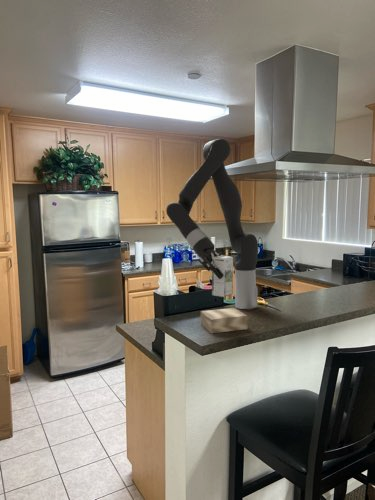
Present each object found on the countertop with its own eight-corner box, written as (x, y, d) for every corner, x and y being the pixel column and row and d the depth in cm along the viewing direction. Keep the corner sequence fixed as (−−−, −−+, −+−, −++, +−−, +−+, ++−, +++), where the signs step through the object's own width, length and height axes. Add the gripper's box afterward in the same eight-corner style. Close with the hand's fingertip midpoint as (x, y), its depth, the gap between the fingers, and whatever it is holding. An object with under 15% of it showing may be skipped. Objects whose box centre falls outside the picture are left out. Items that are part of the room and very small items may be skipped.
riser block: (234, 320, 144) (234, 307, 144) (247, 328, 133) (247, 315, 132) (200, 323, 140) (200, 311, 140) (211, 333, 129) (211, 319, 128)
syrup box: (220, 292, 139) (220, 255, 138) (233, 294, 136) (233, 256, 134) (211, 295, 135) (211, 256, 134) (224, 297, 131) (224, 257, 130)
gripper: (194, 237, 132) (221, 272, 126) (216, 235, 143) (242, 267, 137) (183, 251, 136) (209, 285, 130) (205, 248, 147) (230, 279, 141)
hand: (226, 276), depth 134 cm, fingers closed on syrup box, 5 cm apart
